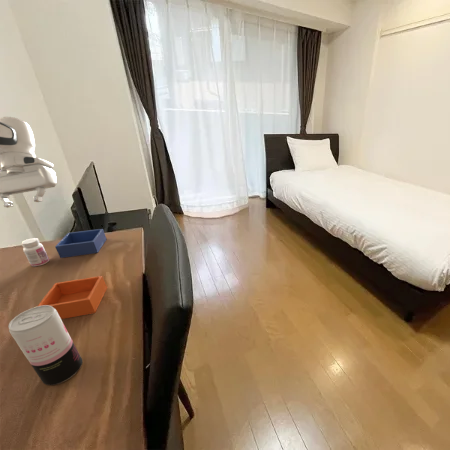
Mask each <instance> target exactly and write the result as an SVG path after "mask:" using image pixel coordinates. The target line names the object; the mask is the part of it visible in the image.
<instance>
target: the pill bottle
mask: <svg viewBox="0 0 450 450" xmlns="http://www.w3.org/2000/svg"><path fill="white" fill-rule="evenodd" d="M21 246H22V247H23V248H22V251H23V253H24V255H25V256H26V259H27V261H28V263H29V265H30V267H41V266H44V265H46V264H47V263H49V261H50V257H49V255H48V254H47V251H46V249H45V247H44V245H43V244H42V243H40V240H39V238H37V237H31V238H27V239H25V240H22V242H21Z"/></svg>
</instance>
